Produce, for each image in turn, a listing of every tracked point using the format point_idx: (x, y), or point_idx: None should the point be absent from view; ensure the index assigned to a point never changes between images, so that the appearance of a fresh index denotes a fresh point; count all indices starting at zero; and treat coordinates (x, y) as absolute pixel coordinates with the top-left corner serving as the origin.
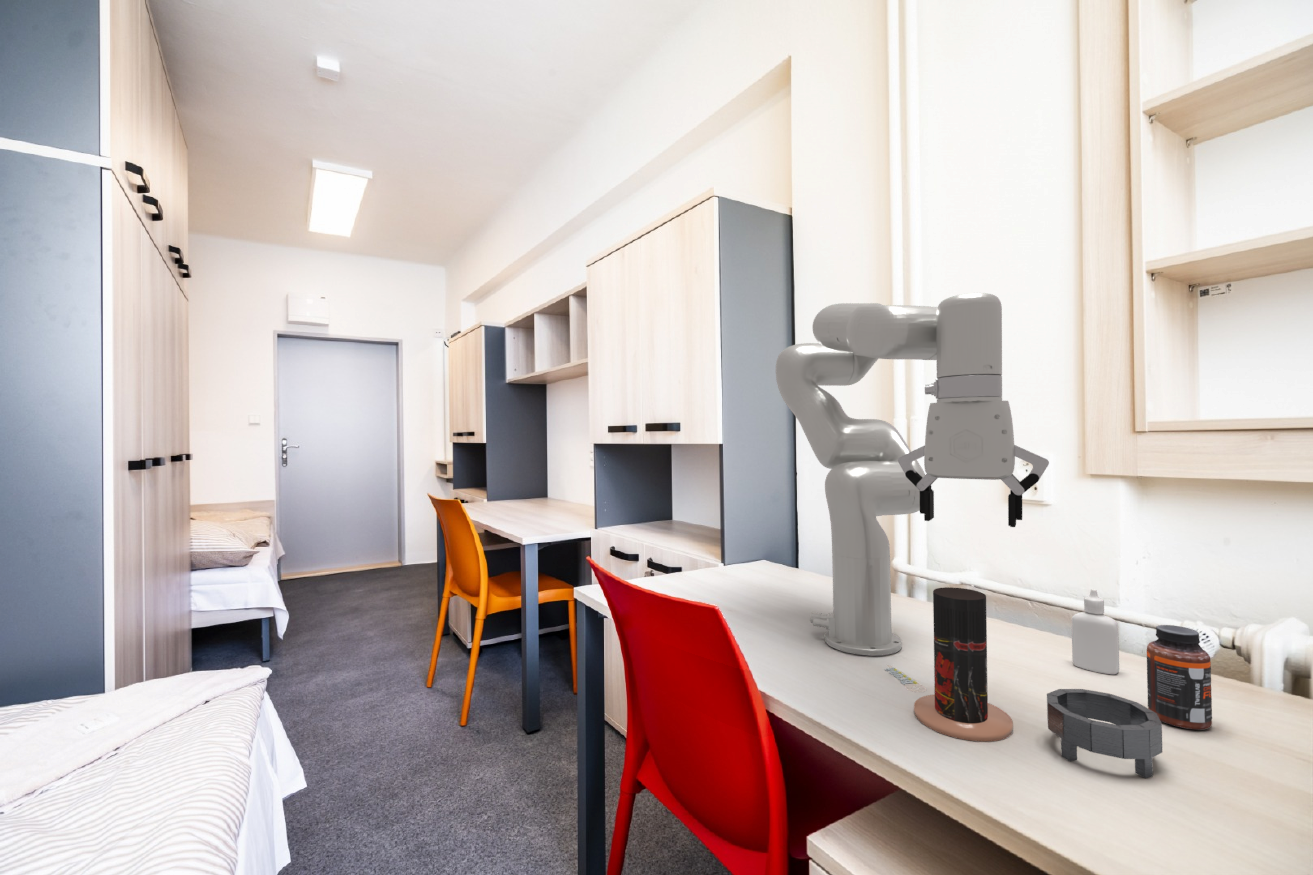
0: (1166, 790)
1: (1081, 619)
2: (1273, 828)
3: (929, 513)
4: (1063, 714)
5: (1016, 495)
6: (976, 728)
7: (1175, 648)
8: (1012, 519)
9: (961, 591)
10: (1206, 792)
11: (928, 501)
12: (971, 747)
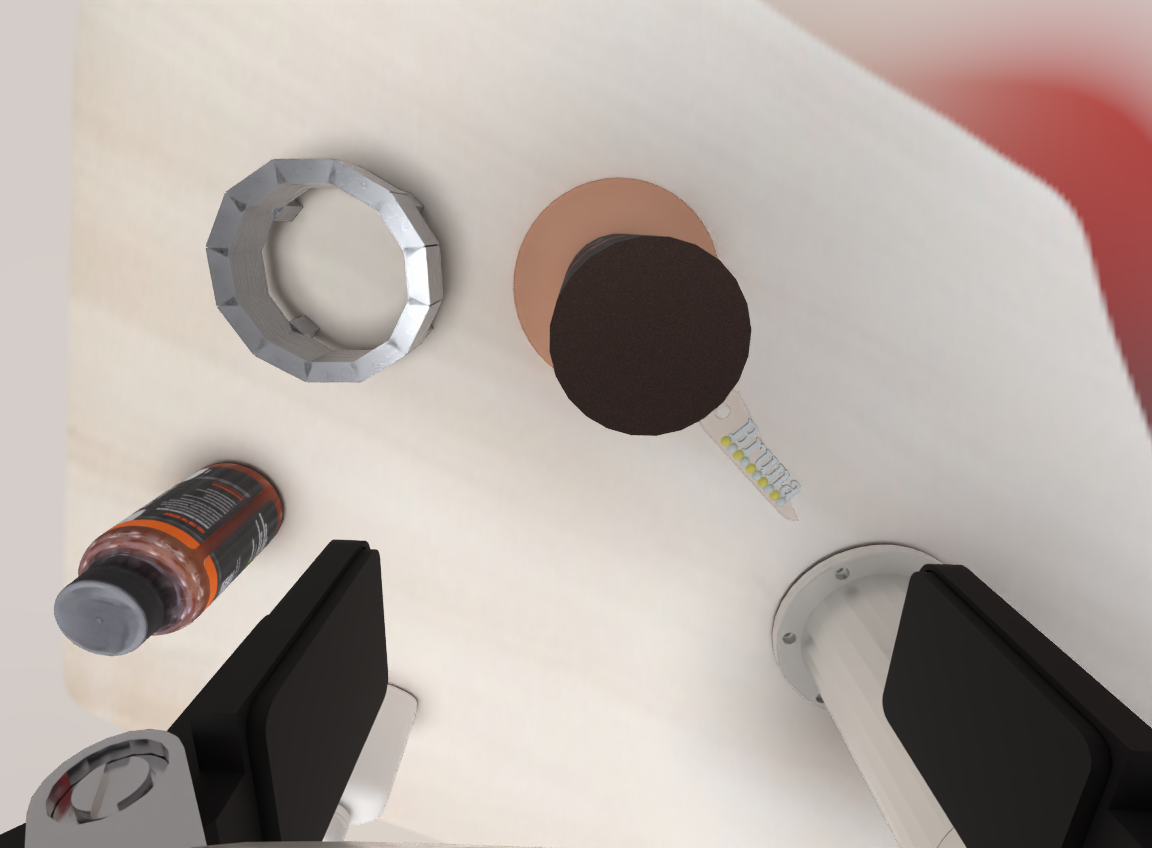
0: (255, 160)
1: (363, 785)
2: (108, 105)
3: (950, 598)
4: (391, 193)
5: (192, 767)
6: (582, 217)
7: (130, 557)
8: (330, 565)
9: (642, 379)
10: (197, 193)
11: (1033, 669)
12: (588, 148)
